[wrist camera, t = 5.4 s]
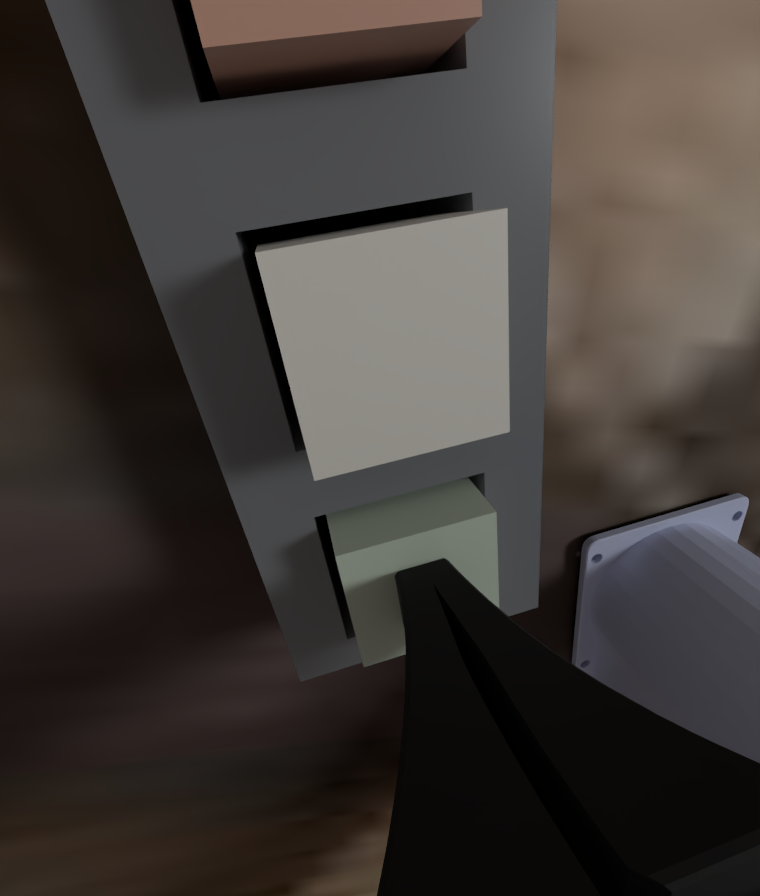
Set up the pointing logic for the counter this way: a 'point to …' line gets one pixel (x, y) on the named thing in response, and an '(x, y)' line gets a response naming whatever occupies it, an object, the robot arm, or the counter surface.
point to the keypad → (312, 197)
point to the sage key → (409, 554)
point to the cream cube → (393, 335)
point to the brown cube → (324, 40)
